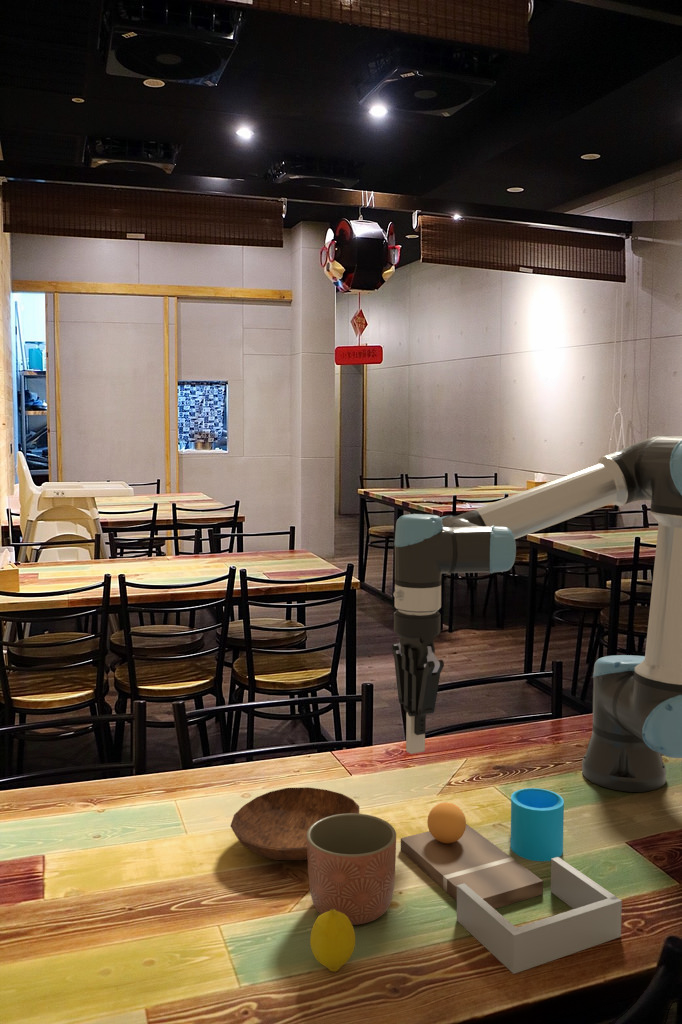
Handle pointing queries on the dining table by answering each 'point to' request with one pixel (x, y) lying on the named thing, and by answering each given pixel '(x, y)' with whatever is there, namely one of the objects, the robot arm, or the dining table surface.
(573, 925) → the grey frame
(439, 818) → the ball
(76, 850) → the dining table surface
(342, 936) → the fruit
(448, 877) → the board
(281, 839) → the bowl
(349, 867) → the planter
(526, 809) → the mug
